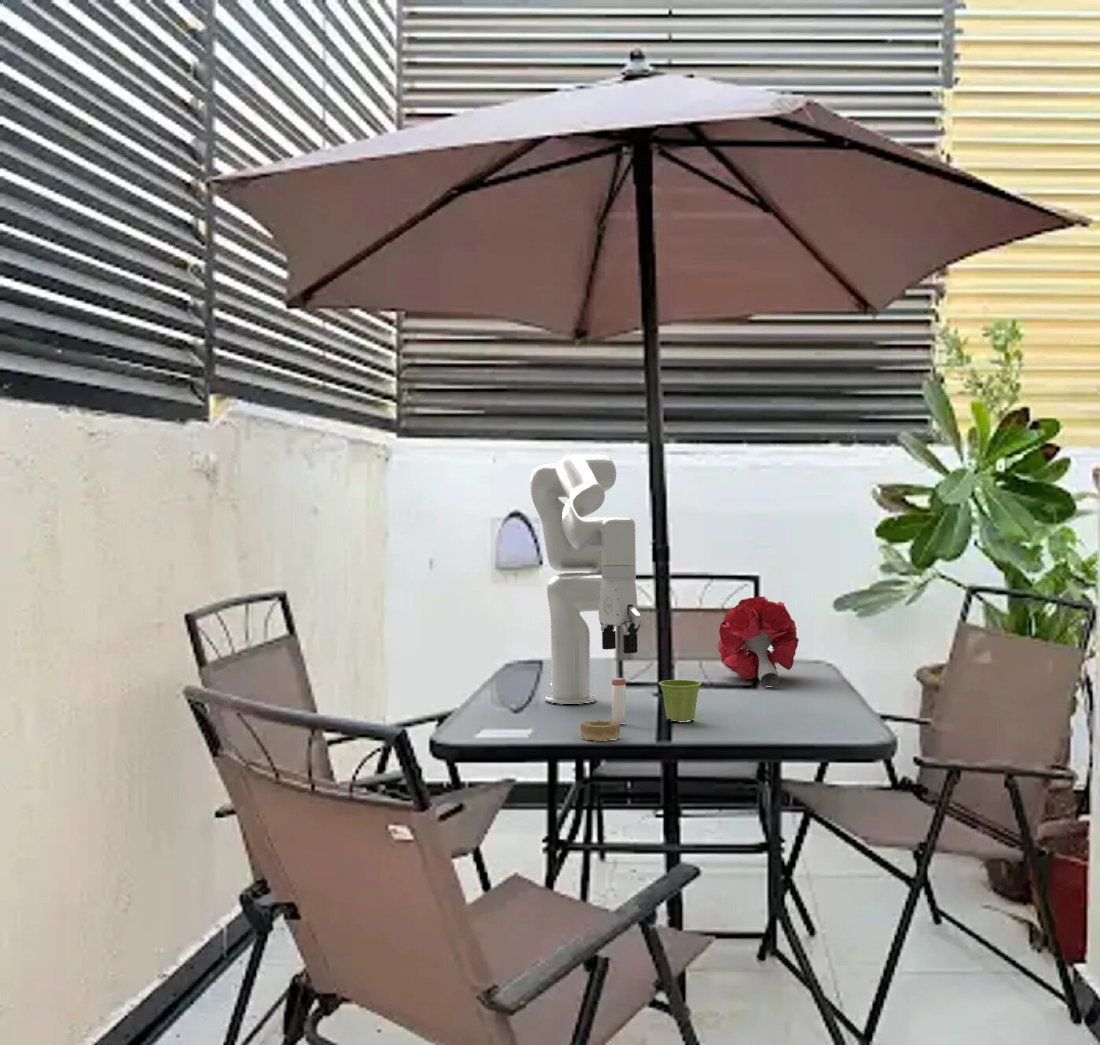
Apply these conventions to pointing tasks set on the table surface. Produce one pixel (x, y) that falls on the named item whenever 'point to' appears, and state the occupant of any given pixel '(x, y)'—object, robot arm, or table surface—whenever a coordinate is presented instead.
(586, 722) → the bead
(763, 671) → the bouquet
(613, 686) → the pink-tipped cream rod
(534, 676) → the table surface
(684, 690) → the plant pot
